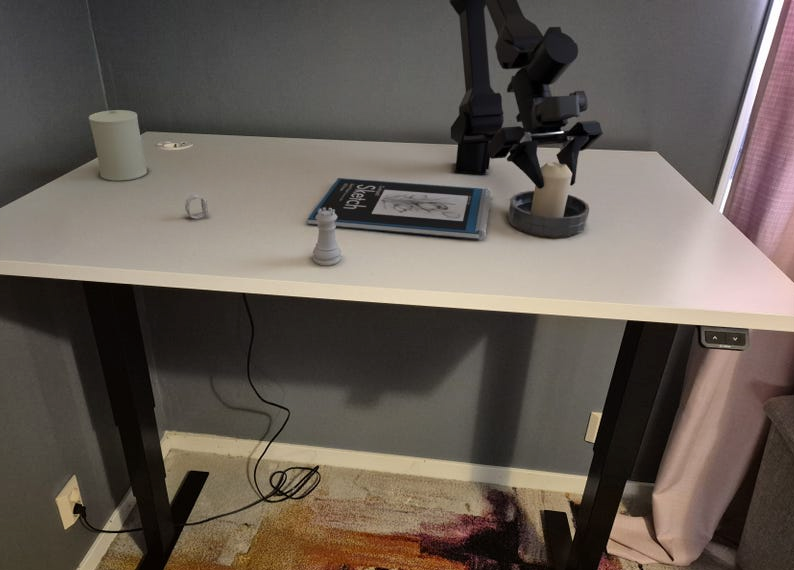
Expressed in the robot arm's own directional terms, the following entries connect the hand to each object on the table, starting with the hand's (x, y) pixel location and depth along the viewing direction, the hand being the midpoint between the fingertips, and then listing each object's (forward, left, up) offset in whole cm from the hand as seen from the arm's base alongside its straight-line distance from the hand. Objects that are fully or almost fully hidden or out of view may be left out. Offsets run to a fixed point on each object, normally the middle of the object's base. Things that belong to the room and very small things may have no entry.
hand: (557, 186), depth 106 cm
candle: (-1, +1, -7) cm, 7 cm away
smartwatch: (-61, -9, -7) cm, 62 cm away
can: (-85, +10, -7) cm, 85 cm away
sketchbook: (-26, +2, -7) cm, 27 cm away
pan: (-1, +1, -7) cm, 7 cm away
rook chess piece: (-35, -21, -7) cm, 41 cm away
